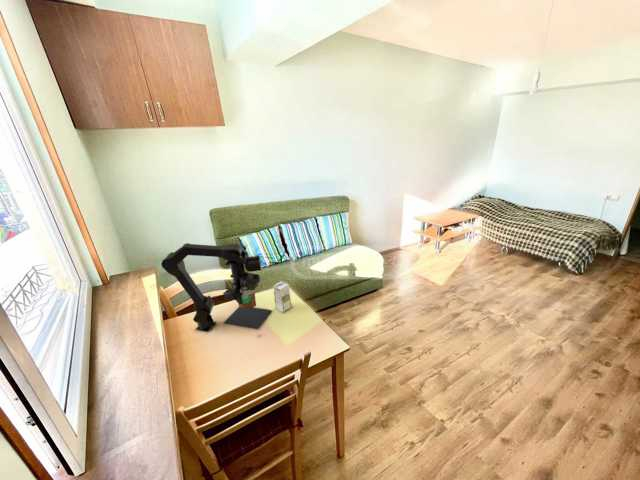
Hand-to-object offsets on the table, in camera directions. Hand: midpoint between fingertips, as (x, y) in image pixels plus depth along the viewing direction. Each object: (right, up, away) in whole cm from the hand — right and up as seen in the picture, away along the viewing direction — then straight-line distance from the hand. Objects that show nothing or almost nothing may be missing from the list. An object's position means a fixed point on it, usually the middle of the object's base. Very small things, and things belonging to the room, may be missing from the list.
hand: (244, 300), depth 131 cm
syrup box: (+15, -6, +15) cm, 22 cm away
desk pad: (-1, -10, +8) cm, 13 cm away
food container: (0, -3, +1) cm, 3 cm away
